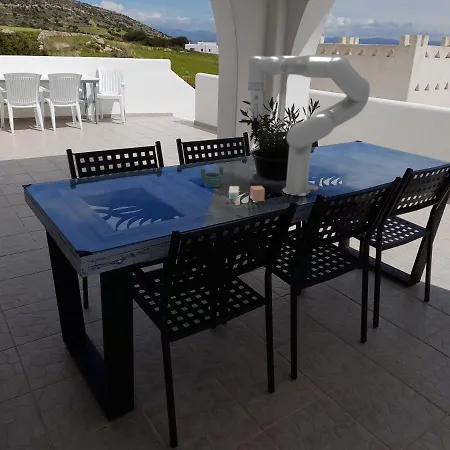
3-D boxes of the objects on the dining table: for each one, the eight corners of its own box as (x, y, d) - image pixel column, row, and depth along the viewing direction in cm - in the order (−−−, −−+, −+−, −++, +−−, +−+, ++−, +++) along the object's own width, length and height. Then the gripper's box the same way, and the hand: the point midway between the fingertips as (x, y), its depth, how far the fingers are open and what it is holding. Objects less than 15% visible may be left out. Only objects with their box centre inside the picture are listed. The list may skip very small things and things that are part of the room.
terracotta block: (260, 198, 190) (261, 185, 188) (264, 202, 186) (264, 189, 183) (249, 199, 189) (250, 186, 187) (252, 203, 185) (253, 189, 183)
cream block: (238, 186, 192) (238, 192, 183) (238, 195, 193) (237, 201, 185) (229, 186, 192) (228, 192, 184) (229, 194, 194) (228, 201, 185)
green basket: (199, 186, 205) (199, 168, 202) (209, 181, 213) (209, 163, 209) (216, 189, 202) (216, 170, 198) (225, 184, 209) (225, 166, 206)
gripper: (266, 88, 180) (263, 133, 187) (265, 85, 194) (263, 127, 201) (247, 88, 180) (246, 132, 187) (248, 85, 194) (246, 126, 201)
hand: (254, 129), depth 194 cm, fingers closed
